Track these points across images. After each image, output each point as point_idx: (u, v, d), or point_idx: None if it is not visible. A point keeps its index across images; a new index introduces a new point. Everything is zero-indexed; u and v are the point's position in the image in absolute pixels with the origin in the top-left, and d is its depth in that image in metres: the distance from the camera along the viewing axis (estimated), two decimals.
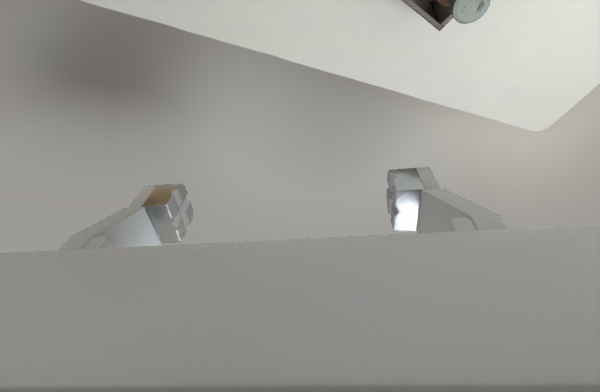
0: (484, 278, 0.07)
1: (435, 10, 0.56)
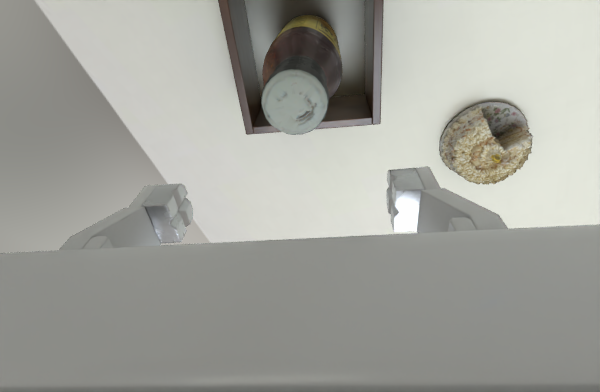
0: (484, 278, 0.07)
1: (259, 111, 0.39)
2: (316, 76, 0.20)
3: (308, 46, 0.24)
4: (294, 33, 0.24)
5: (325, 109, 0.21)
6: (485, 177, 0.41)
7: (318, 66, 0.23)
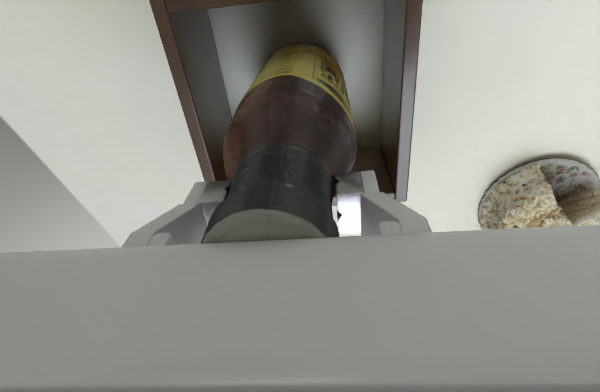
0: (484, 278, 0.07)
1: None
2: (314, 220, 0.09)
3: (300, 121, 0.13)
4: (274, 95, 0.14)
5: None
6: None
7: (317, 165, 0.12)
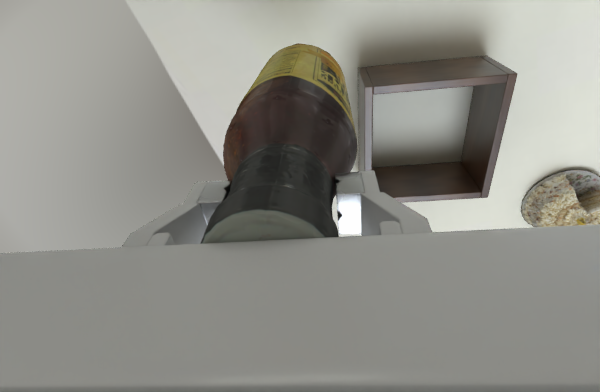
0: (484, 278, 0.07)
1: None
2: (313, 220, 0.09)
3: (300, 121, 0.13)
4: (275, 96, 0.14)
5: None
6: None
7: (317, 166, 0.12)
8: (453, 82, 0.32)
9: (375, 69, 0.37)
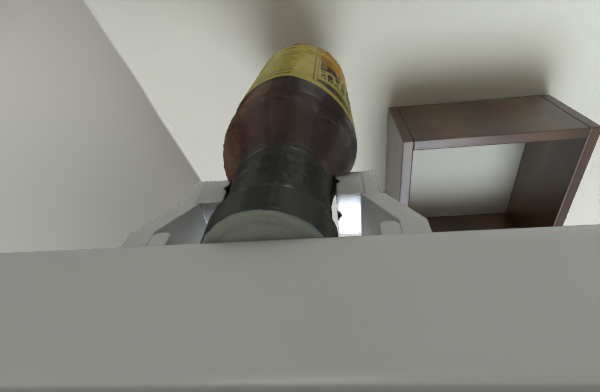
0: (484, 278, 0.07)
1: None
2: (313, 220, 0.09)
3: (300, 121, 0.13)
4: (274, 96, 0.14)
5: None
6: None
7: (317, 166, 0.12)
8: (518, 137, 0.25)
9: (411, 111, 0.30)
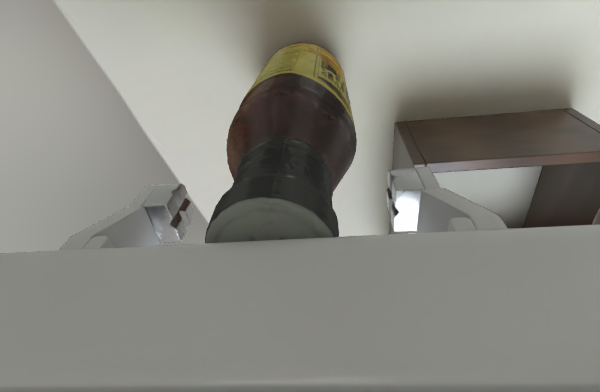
0: (484, 278, 0.07)
1: None
2: (314, 208, 0.10)
3: (301, 116, 0.14)
4: (277, 92, 0.14)
5: None
6: None
7: (318, 159, 0.13)
8: (543, 159, 0.22)
9: (420, 126, 0.27)
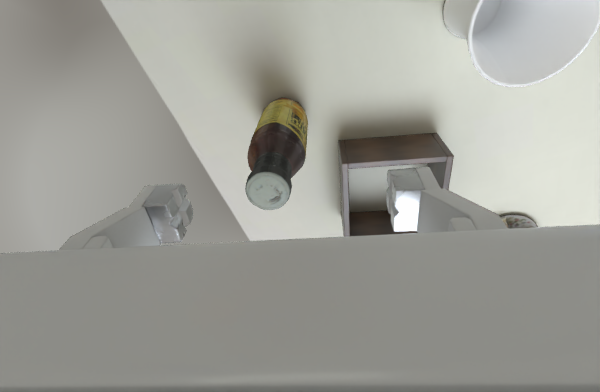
0: (484, 278, 0.07)
1: None
2: (281, 175, 0.30)
3: (279, 143, 0.34)
4: (269, 133, 0.35)
5: (288, 195, 0.31)
6: None
7: (285, 160, 0.33)
8: (407, 161, 0.43)
9: (351, 143, 0.48)
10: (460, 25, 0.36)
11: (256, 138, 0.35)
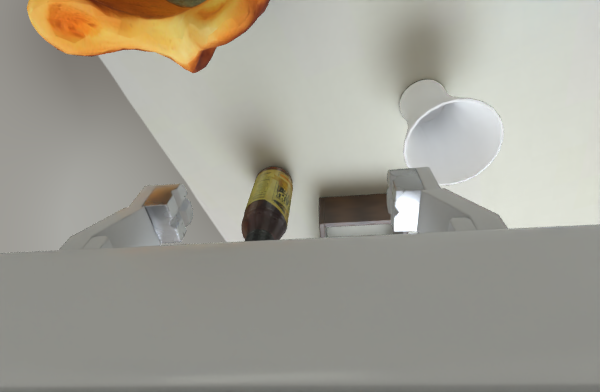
0: (484, 278, 0.07)
1: None
2: None
3: (265, 220, 0.45)
4: (258, 212, 0.45)
5: None
6: None
7: (269, 236, 0.43)
8: (372, 222, 0.53)
9: (329, 201, 0.58)
10: None
11: (248, 215, 0.46)
